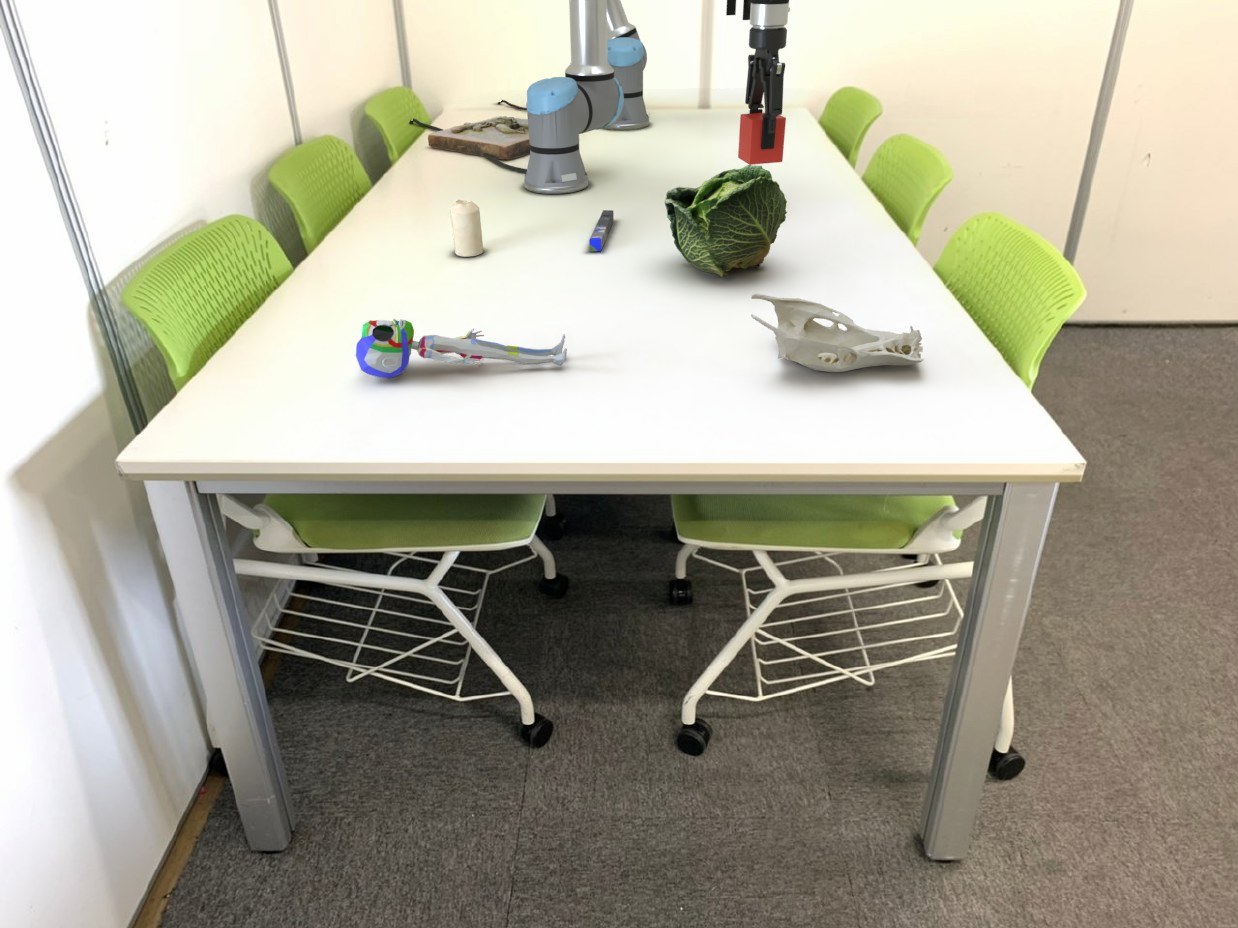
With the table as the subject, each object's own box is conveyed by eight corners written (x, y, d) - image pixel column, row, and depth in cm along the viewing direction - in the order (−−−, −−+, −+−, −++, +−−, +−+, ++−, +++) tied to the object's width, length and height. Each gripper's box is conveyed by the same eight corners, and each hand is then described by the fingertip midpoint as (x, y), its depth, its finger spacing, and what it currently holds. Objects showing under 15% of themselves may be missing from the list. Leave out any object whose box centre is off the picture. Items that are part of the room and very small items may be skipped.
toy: (569, 347, 126) (349, 329, 122) (563, 400, 131) (350, 385, 126) (565, 318, 135) (359, 301, 130) (559, 369, 139) (360, 354, 134)
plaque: (505, 133, 232) (424, 120, 247) (507, 161, 236) (427, 146, 250) (578, 114, 253) (499, 103, 268) (578, 140, 256) (500, 128, 271)
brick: (749, 165, 191) (752, 120, 186) (738, 157, 196) (740, 114, 192) (782, 162, 193) (786, 117, 188) (770, 155, 198) (773, 112, 193)
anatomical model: (752, 284, 135) (923, 286, 131) (750, 340, 140) (914, 344, 136) (749, 325, 123) (938, 328, 119) (747, 384, 127) (928, 390, 124)
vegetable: (694, 294, 173) (643, 202, 166) (775, 239, 175) (728, 145, 167) (734, 307, 155) (678, 205, 147) (824, 245, 156) (773, 141, 149)
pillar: (613, 210, 190) (600, 241, 173) (613, 220, 191) (600, 251, 174) (603, 210, 190) (589, 240, 173) (603, 220, 191) (589, 251, 174)
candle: (488, 249, 176) (483, 198, 171) (475, 258, 172) (470, 206, 167) (463, 246, 178) (457, 196, 173) (450, 255, 174) (443, 204, 168)
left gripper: (806, 31, 173) (796, 154, 186) (766, 20, 189) (759, 134, 202) (770, 33, 172) (762, 156, 184) (733, 22, 188) (727, 136, 200)
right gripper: (772, -65, 244) (767, 21, 256) (739, -67, 265) (735, 12, 276) (746, -64, 243) (742, 22, 254) (715, -67, 263) (712, 13, 275)
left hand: (760, 144), depth 193 cm, fingers closed on brick, 7 cm apart
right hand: (738, 17), depth 265 cm, fingers open, 13 cm apart
